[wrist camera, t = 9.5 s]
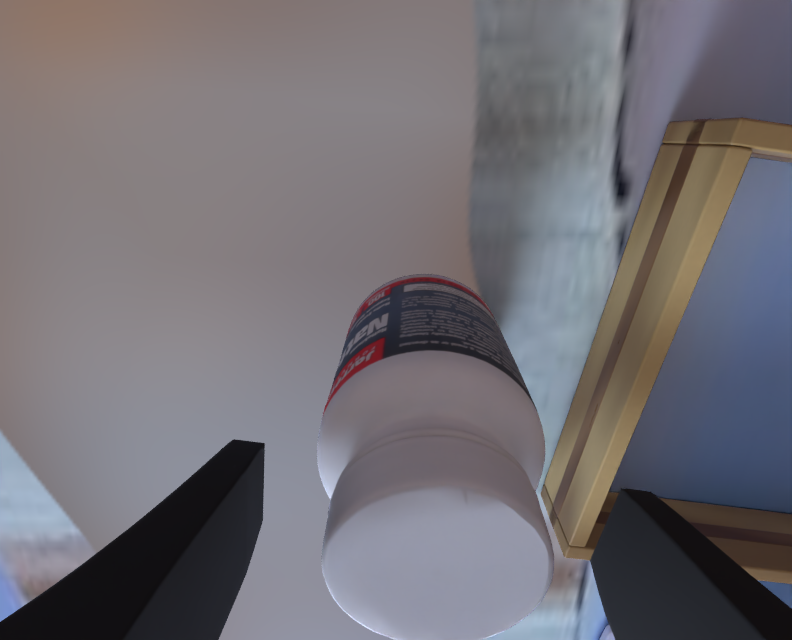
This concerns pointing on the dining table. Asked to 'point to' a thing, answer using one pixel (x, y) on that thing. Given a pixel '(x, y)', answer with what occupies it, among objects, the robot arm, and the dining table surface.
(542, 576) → the pill bottle
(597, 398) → the picture frame
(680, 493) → the dining table surface
